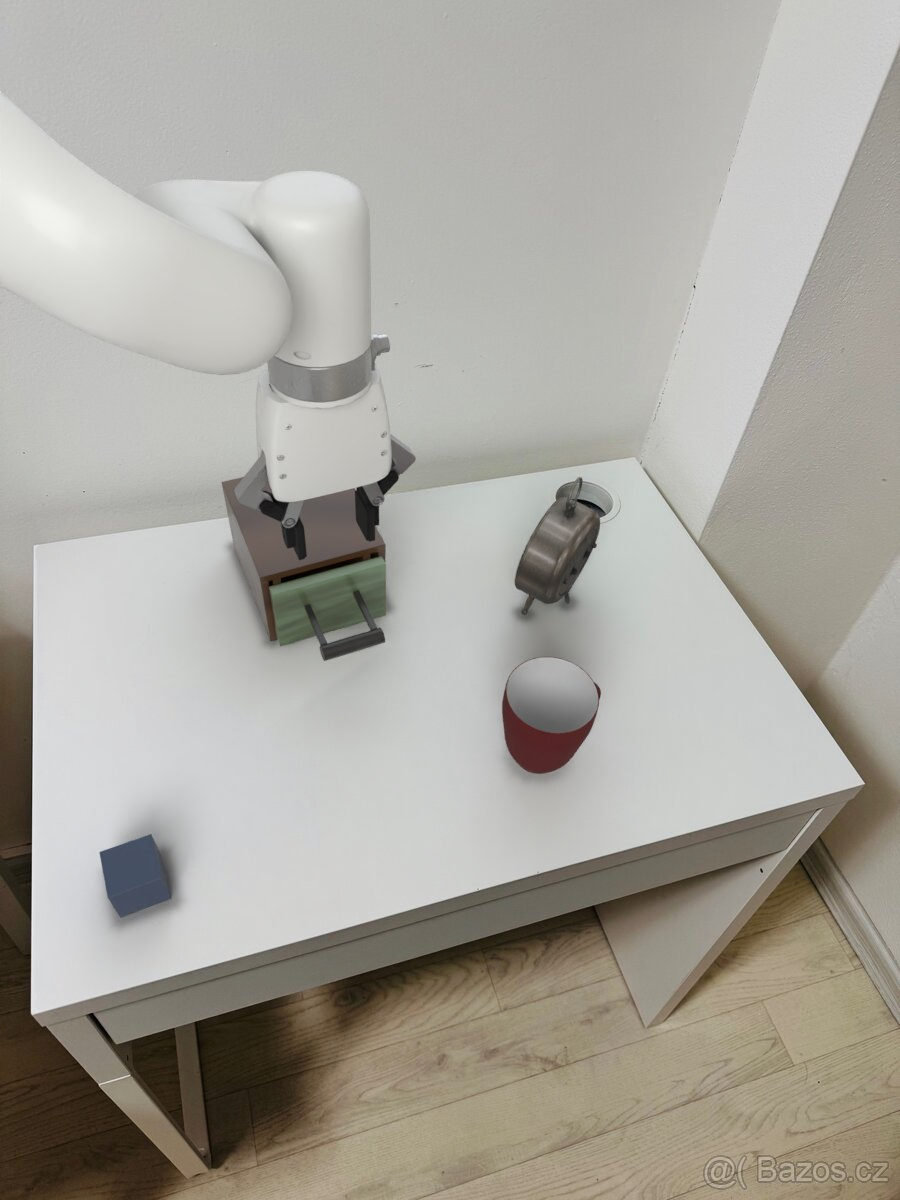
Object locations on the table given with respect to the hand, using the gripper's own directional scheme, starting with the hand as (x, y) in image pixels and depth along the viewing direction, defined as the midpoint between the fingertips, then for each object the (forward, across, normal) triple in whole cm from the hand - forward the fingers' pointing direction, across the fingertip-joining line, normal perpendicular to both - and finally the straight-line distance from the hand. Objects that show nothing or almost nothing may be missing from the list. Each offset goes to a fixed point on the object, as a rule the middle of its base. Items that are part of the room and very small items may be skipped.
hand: (332, 538), depth 74 cm
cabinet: (+16, 0, -10) cm, 19 cm away
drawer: (+15, 0, -5) cm, 15 cm away
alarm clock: (+16, -24, +2) cm, 29 cm away
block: (+16, +23, +18) cm, 33 cm away
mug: (+16, -14, +18) cm, 28 cm away
